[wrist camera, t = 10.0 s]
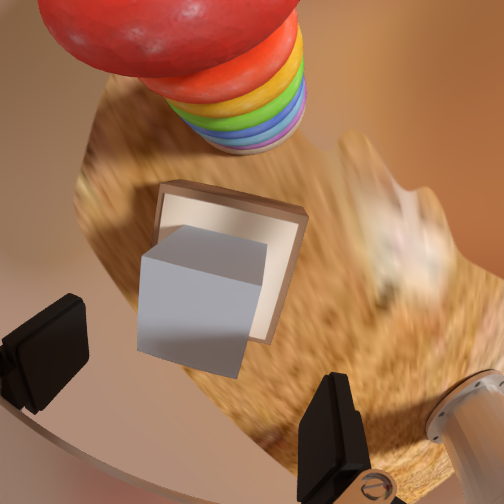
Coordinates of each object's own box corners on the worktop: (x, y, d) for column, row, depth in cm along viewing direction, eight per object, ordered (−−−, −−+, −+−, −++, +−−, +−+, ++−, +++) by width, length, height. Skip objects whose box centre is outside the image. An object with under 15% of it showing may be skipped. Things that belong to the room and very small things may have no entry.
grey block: (267, 244, 17) (262, 286, 11) (249, 317, 19) (236, 379, 13) (185, 224, 17) (141, 255, 11) (174, 298, 19) (137, 350, 13)
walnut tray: (303, 206, 20) (309, 218, 16) (272, 316, 23) (270, 347, 19) (181, 179, 20) (158, 183, 16) (164, 289, 23) (144, 313, 19)
